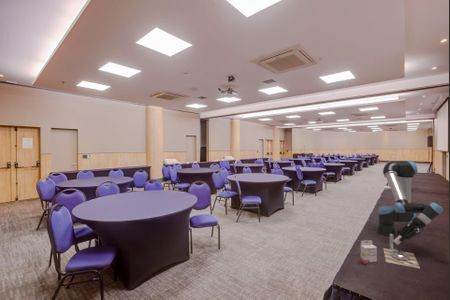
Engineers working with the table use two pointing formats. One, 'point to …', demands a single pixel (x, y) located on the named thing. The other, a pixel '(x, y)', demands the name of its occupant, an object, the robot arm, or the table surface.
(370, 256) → the ink cartridge box
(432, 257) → the table surface
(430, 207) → the robot arm
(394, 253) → the cam capstan
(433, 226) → the table surface
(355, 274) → the table surface
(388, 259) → the level stand
